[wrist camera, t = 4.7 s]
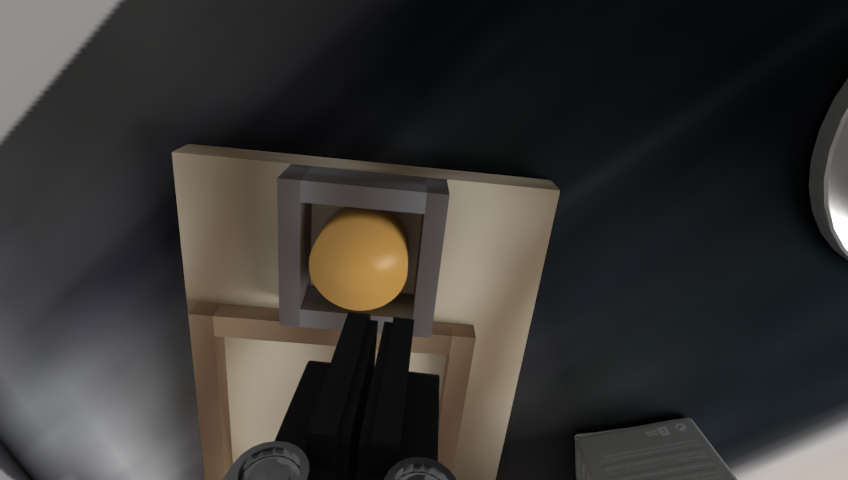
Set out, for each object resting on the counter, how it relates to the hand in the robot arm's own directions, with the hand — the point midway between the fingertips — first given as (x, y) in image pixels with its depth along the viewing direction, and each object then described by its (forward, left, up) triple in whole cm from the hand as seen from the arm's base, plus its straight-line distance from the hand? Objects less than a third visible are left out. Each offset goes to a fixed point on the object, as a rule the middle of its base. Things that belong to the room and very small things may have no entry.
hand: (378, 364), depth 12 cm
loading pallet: (+1, +7, -10) cm, 12 cm away
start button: (+1, 0, -8) cm, 8 cm away
